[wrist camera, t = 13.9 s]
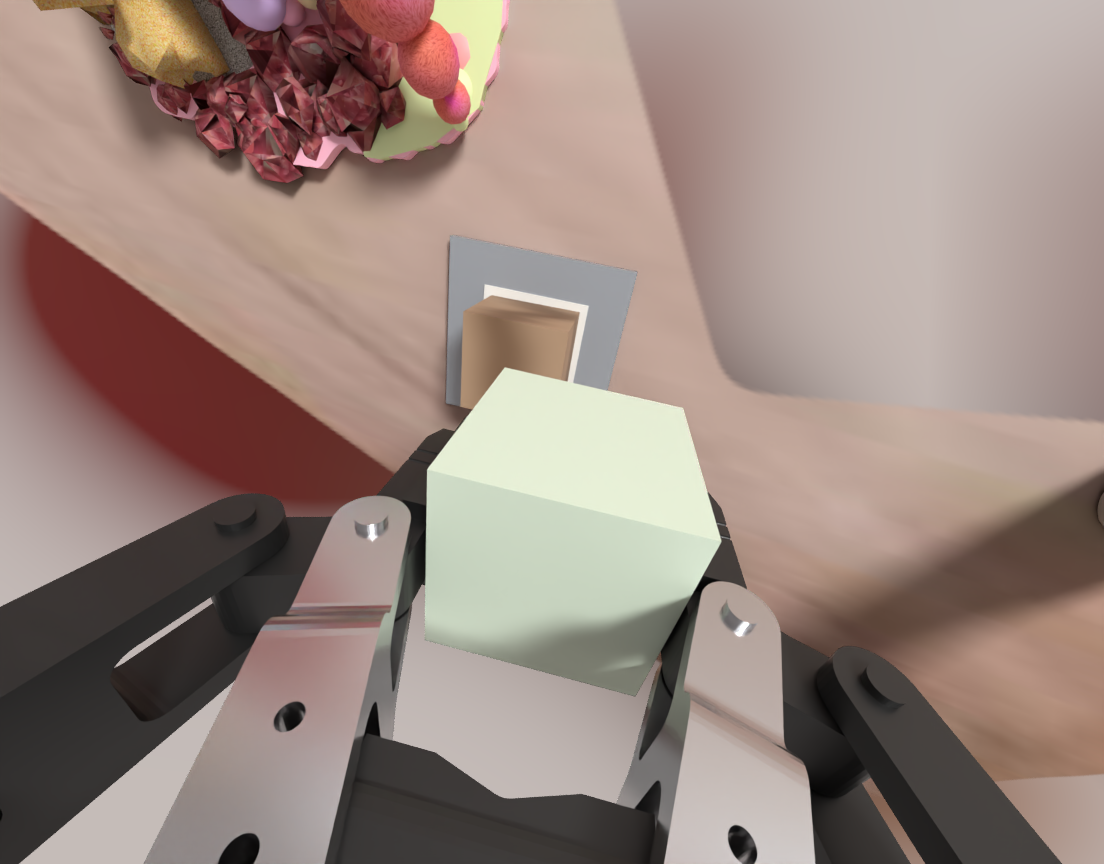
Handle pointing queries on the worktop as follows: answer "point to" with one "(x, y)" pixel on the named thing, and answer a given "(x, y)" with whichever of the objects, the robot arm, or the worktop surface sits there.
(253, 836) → the robot arm
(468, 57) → the candy landscape model
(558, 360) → the walnut block
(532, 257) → the pad
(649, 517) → the sage cube
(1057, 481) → the worktop surface
